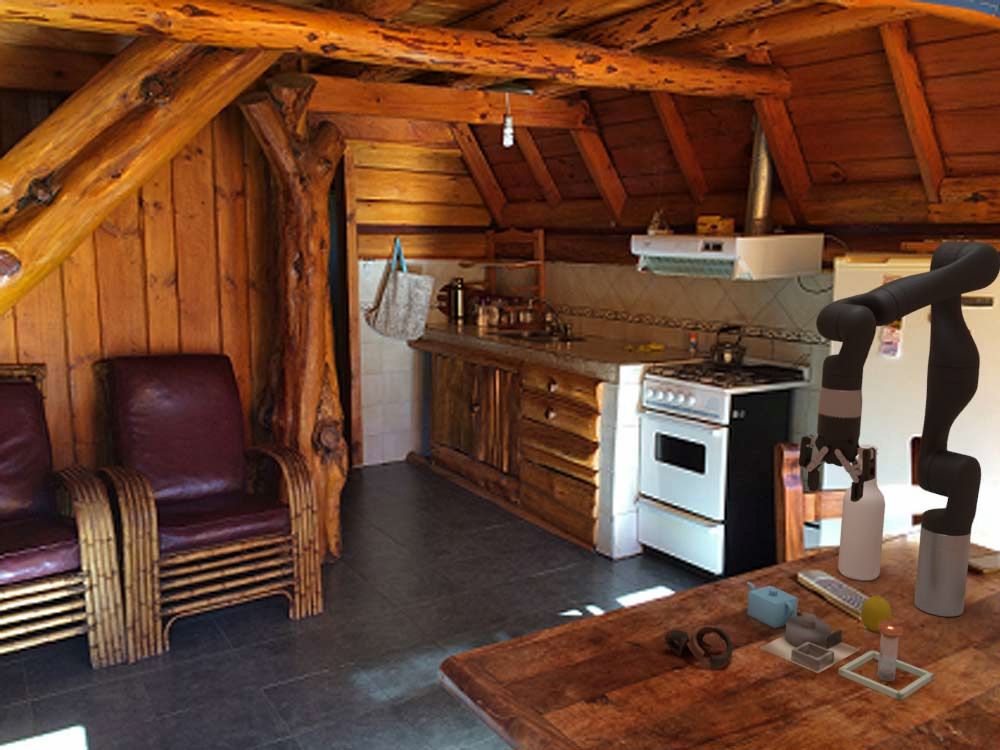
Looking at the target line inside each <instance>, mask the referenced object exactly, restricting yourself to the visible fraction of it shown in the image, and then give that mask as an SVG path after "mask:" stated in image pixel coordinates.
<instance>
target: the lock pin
mask: <svg viewBox="0 0 1000 750" xmlns="http://www.w3.org/2000/svg"><path fill="white" fill-rule="evenodd" d="M878 631H879V632H880V633H879V634H880V639H879V640H880V642H879V660H878V663H877V672H876V673H877V675H876V676H877V678H878V679H879V680H881V681H885V682H894V681H895V680H896V670H897V667H896V661H897V660H898V659H897V658H898V651H899V650H898V649H899V640H900V639H899V638H900V637H901V636H903V632H904V626H903V625H902V624H901V623H899V622H897V621H893V620H892V621H888V620H883V621H880V622H879V627H878Z"/></svg>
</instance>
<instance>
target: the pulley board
mask: <svg viewBox="0 0 1000 750" xmlns="http://www.w3.org/2000/svg"><path fill="white" fill-rule="evenodd" d="M842 637H843V629H837V630H836V631H835V630H834V631H833V632H832V627H831V625H830V624H829V623H828V622H826V621H824V620H821V619H819V618H817V615H816V614H815V613H811V612H810V613H809V612H804V613H802V614H800V615H799V616H798V615H797V617H793V618H790V619H788V620H787V621H786V625H785V635H783V636H781V637H778V638H776V639H774V640H772V641H769V642H768V643H766V644H764V645H762V646H760V647H759V649H760V650H763V651H766V652H768V653H770V654H772V655H774V656H777V657H779V658H782V659H784V660H786V661H789V662H790V663H793V664H795V665H797V666H800V667H801V668H804V669H808V670H810V671H812V672H813V673H816V674H819V673H821V672H823V671H825V670H827V669H829V668H831V667H832V666H834V665H836V664H837V663H839V662H841V661H843V660H845V659H846V658H847V657H848V658H849V657H850V656H851V655H853V654H855V653H857V652H858V651H859V652H860V651H861V649H860V648H858V647H855V646H852V645H850V644H847V643H845V642H842Z"/></svg>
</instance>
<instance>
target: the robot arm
mask: <svg viewBox="0 0 1000 750" xmlns="http://www.w3.org/2000/svg"><path fill="white" fill-rule="evenodd" d="M929 265H930V266H929V271H925V272H922V273H916V274H911V275H907V276H903V277H900V278H896V279H894V280H890V281H888V282H886V283H884V284H882V285H880V286H878V287H875V288H873V289H871V290H869V291H867V292H865V293H859V294H856V295H852V296H847V297H844V298H840V299H837V300H834V301H832V302H830V303H829V304H827V305H825V306H824V307H822V309H821V310H820V312H819V313H818V315H817V317H816V322H815V323H816V324H815V326H816V329H817V332H818V333H819V335H820V336H821V337H823V338H824V339H826V340H828V341H833V342H838V343H841V346H840V349H839V352H838V354H836V353H835V354H832V355H831V354H830V355H828V356H826V357H825V358H824V360H823V363H822V372H821V373H822V374H821V375H822V376H821V387H820V393H819V398H818V412H817V428H816V433H817V437H815V436H814V435H812V434H808V435H805V436H802V437H801V440H800V449H799V454H798V455H799V457H798V466H799V467H802V468H805V470H806V471H807V479H806V480H807V484H806V485H807V488H809V489H808V491H810V492H816V491H818V490H819V487H820V474H821V473H820V472H821V471H820V470H819V469H820V468H821V467H822V466H823V465H824V464H828V465H835V466H836V467H840V468H842V467H843V469H844V470H845V472H846V473H848V475H849V477H850V479H852V481H851V486H850V487H851V501H853V502H857V501H859V500H860V499H861V498H862V497H863V488H864V482H866V481H869V480H872V479H874V478H875V457H876V450H875V448H873V447H871V448H861V447H860V444H859V441H860V436H861V428H862V427H861V425H862V413H863V393H862V392H863V391H862V390H863V378H864V367H865V364H866V361H867V360H868V357H869V353H870V350H871V347H872V345H873V342H874V339H875V336H876V333H877V327H883V326H887V325H889V324H892V323H893V322H895V321H898V320H900V319H901V318H905V317H906V316H908V315H910V314H912V313H914V312H917V311H919V310H921V309H924V308H926V307H928V306H930V333H929V334H930V335H929V351H928V352H929V353H928V360H927V369H926V370H927V371H926V373H927V375H926V394H925V408H924V409H925V410H924V416H923V417H924V418H923V419H924V420H923V427H922V433H921V439H920V444H919V450H918V455H917V462H916V472H915V473H916V481H917V484H918V486H919V487H920V488H921V490H923V491H926V492H928V493H931V494H935V495H938V496H941V497H946V498H947V501H946V506H945V507H942V508H941V507H939V508H938V507H937V508H931V509H927V510H925V511H924V512H923V513H922V515H921V521H920V522H921V523H920V533H919V545H918V555H917V556H918V559H917V568H916V569H917V570H916V580H915V590H914V591H915V592H914V601H913V603H914V606H915V607H916V608H917V609H919V611H920V610H921V611H923V612H924V613H926V614H927V613H928V614H929V615H934V616H938V617H939V616H940V617H949V618H950V617H958V616H961V615H963V613H964V609H965V598H966V589H967V588H966V587H967V580H968V568H969V567H968V566H969V560H970V559H969V557H970V546H971V536H972V527H973V523H974V520H975V518H976V514H977V508H978V500H979V495H980V488H981V483H982V482H981V480H982V467H981V464H980V462H979V460H978V459H977V458H976V457H974V456H972V455H969V454H963V453H960V452H954V451H951V450H948V442H949V435H950V431H951V429H952V428H951V427H953V424H954V423H955V420H956V419H958V416H960V414H961V413H962V412H963V411H964V410H965V408H966V407H967V406H968V405H969V403H970V402H971V401H972V399H973V398H974V396H975V395H976V393H977V390H978V386H979V380H980V379H979V378H980V367H981V366H980V365H981V357H980V356H981V355H980V352H979V348H978V346H977V344H976V341H975V340H974V337H973V335H972V333H971V332H970V330H969V327H968V325H967V323H966V321H965V318H964V315H963V310H962V309H963V308H962V295H964V294H967V293H972V292H975V291H980V290H983V289H985V288H988V287H989V286H991V285H992V284H993V283H994V282H995V281H996V279H997V278H998V276H999V274H1000V253H999V251H998V250H997V249H996V247H995V246H993V245H990V244H989V243H985V242H979V241H945V242H942V243H941V244H939V245H938V246H937V247H936V248H935V250H934V252H933V254H932V255H931V260H930V264H929ZM814 448H816V449H817V451H818V453H817V454H816V455H815V456H814V457H813V449H814ZM859 454H860V458H861V459H862V470H861V465H860V463H859V461H858V455H859ZM812 457H813V458H812Z"/></svg>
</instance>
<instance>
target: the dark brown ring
mask: <svg viewBox="0 0 1000 750" xmlns="http://www.w3.org/2000/svg"><path fill="white" fill-rule="evenodd" d="M712 633H714V634H716V635H717V636H719V638H720V639H722V640H724V642H725V644H726V651H725V652H724V653H722V654H719V655H716V654H715V655H714V654H710V658H707V657H705V653H706V652H705V650H704V649H703V648H702V647H701V646H703V647H704V646H705V647H709V648H710V647H712V646H713V645H712V643H710V642H708V641H706V640H704V639H703V638H704V637H705V636H706V634H712ZM664 640H665V643H666V645H667V647H668V648H669V649H670V650H671V651H672V652H674V653H675V654H676V655H677V656H679V657H680V656H682V652H683V650H685V649H686V648H688V649H689V651H690V652H691V653H692V654H693V656H694V657H695V659H696V660H697V662H698V661H699V667H698V669H700V670H704V671H705V670H706V671H708V670H709V671H711V670H713V671H714V670H716V671H717V670H721V669H724V668H725V667H727V666H728V665H729V662H731V660H732V656H733V644H732V643H733V641H731V638H730V636H729V635H728V633H727V632H725V631H724V630H723V629H722V628H720V627H718V626H715V625H712V624H701V625H699V626H697V627H695V628H692V629H691V630H689V631H682V630H679V629H674V628H673V629H670V630H669V631H667V633H666V634H665V635H664Z"/></svg>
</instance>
